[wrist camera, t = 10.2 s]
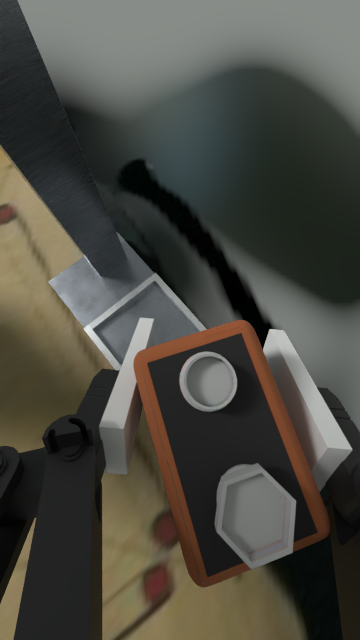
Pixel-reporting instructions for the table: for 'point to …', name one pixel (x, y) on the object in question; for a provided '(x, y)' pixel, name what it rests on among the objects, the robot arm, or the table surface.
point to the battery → (227, 453)
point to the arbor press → (77, 206)
